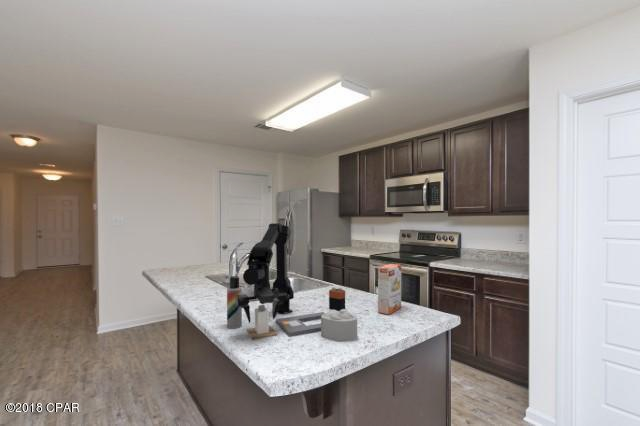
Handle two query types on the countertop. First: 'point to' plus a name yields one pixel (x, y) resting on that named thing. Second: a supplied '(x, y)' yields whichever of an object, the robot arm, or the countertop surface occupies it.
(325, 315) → the lumpy-topped squat cylinder
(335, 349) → the countertop surface
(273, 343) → the countertop surface
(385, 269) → the cracker box
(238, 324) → the lotion bottle
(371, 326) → the countertop surface
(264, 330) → the plug
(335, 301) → the battery
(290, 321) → the grey square tray
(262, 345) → the countertop surface
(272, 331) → the rest pad
